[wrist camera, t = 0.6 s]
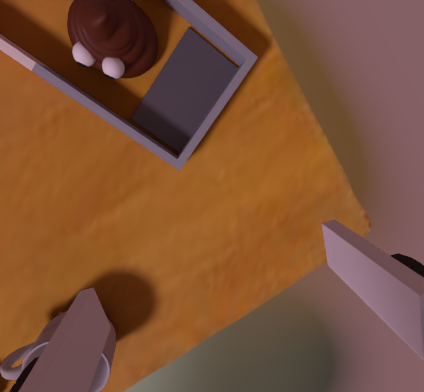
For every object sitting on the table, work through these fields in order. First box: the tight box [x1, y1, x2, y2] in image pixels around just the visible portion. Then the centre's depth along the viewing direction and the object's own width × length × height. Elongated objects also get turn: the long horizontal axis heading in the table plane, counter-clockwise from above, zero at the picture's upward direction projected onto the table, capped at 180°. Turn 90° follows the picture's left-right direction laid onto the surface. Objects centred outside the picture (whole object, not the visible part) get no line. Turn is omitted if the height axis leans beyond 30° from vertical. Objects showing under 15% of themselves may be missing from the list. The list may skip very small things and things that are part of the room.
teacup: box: [0, 311, 116, 392], centre depth 38 cm, size 14×11×8 cm
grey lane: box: [32, 0, 258, 171], centre depth 32 cm, size 19×16×4 cm
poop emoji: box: [67, 0, 158, 80], centre depth 28 cm, size 10×8×9 cm
